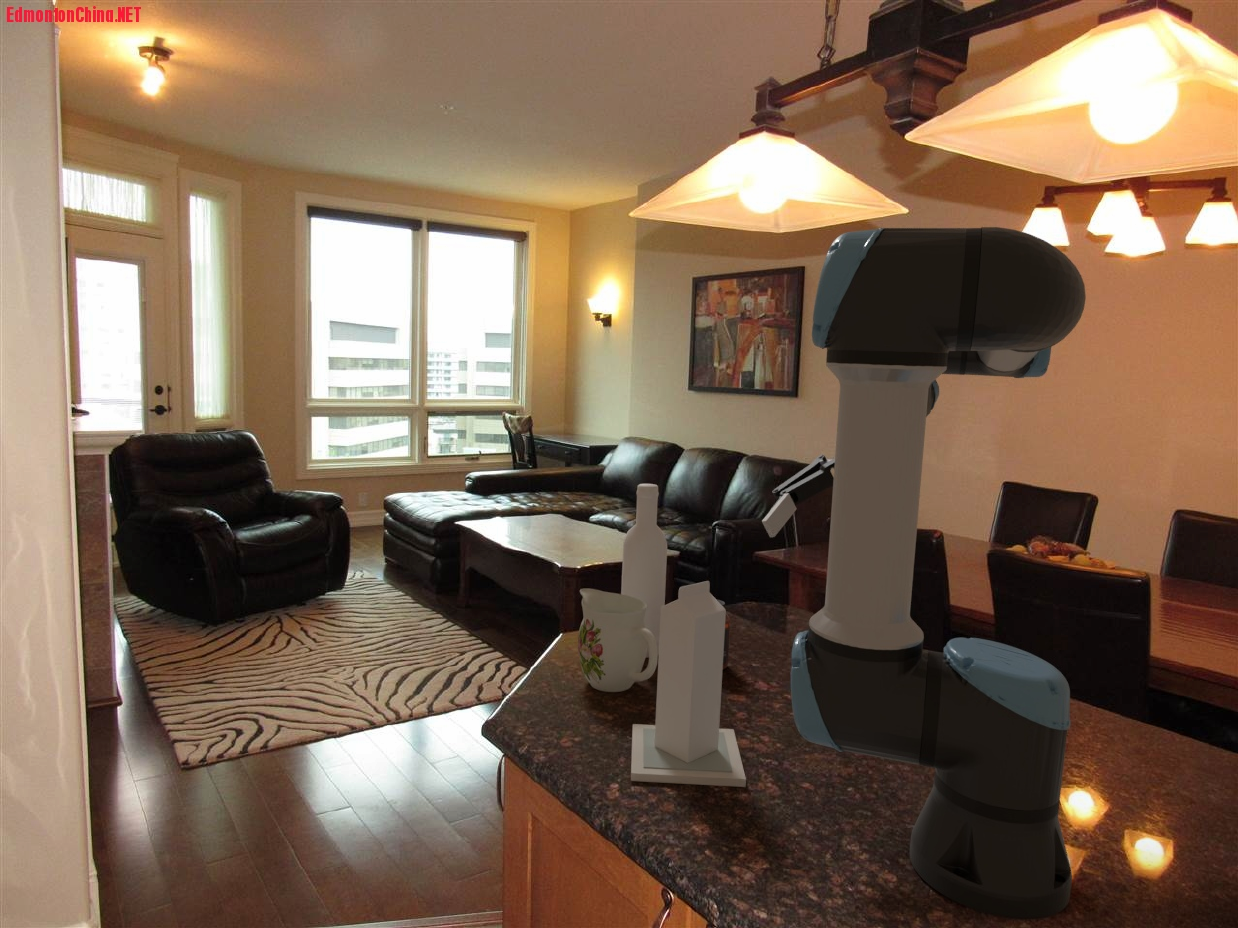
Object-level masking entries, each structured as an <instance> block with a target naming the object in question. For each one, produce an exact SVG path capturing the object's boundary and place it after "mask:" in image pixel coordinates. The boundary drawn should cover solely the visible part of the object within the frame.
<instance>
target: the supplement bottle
mask: <svg viewBox="0 0 1238 928" xmlns="http://www.w3.org/2000/svg"><path fill="white" fill-rule="evenodd" d="M715 599H716V598H715ZM716 600H717V601H718V602H719V603H720V604H721V605H722V606H723V607H724V608H725V609H726V603H725V601H723V600H720V599H716ZM730 629H731V618H730V616H729V615H728V614H727V613H726V617H725V635H724V652H723V670H725V669H726V668H727V667H728V665H729V652H730V650H729V649H730V632H731V631H730Z"/></svg>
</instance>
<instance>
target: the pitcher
mask: <svg viewBox="0 0 1238 928" xmlns="http://www.w3.org/2000/svg"><path fill="white" fill-rule="evenodd" d="M579 593H580V595H581V596H582V599H581V607H582V614H583V619H582V621H581V623H580V627H579V630H578V638H577V651H578V658H579V663H580V667H581V670H582V673H583V675H584V677H585V679H586V680H587V682H589V685H590V686H591V687H592V688H593V689H596V690H598V691H600V692H606V693H618V692H620V693H621V692H625V691H627V690H629V689H630V688H631V687H632V686H633V685H634V683H636V682H644V681H647V680H648V679H650V678H651V677H652V676H653V675H654V674H655V671H656V669H657V667H658V659H659V655H658V647H657V642H656V639H655V637H654V635H653V634H652V632H651V631H649V630H648V629H646V628H645V624H644V616H645V612H646V608H647V604H646V603H645V602H644V601H642V600H640V599H637V598H634V597H631V596H627V595H623V594H621V593H616V592H608V591H603V590H600V589H596V588H588V587H587V588H580V590H579ZM647 644H648V647H649V658H648V663H647V666H646V668H644V670H643V667H644V663H645V660H646V658H645V657H646V652H647ZM642 670H643V671H642Z"/></svg>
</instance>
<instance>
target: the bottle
mask: <svg viewBox="0 0 1238 928" xmlns="http://www.w3.org/2000/svg"><path fill="white" fill-rule="evenodd" d="M635 494H636V515H635V516H636V517H635V524H634V525H633V526H632V527H631V528H629V529H628V531H627V532H626V535H625V537H624V539H623V545H622V546H623V547H622V566H621V567H622V568H621V588H620V589H621V591H620V594H623V595H627V596H631V597H634V598H637V599H640V600H642V601H644V602H645V603H646V604H647V608H646V612H645V616H644V624H645V628H646V629H648V630H649V631H651V632H652V634H653V635H654V637H655V639H656V642H657V647H658V656H659V637H660V616H661V607H662V606H664V605H666V602H665V600H666V582H667V581H666V580H667V559H668V542H667V538H666V535H665V532H664V531H663V530H662V529H661V528H660V527H659V526H658V524H657V523H658V522H657V521H658V504H659V503H658V500H659V499H658V497H659V495H660V492H659V485H657V484H655V483H654V484H653V483H639V484H638V485H637V490H636V493H635ZM646 658H648V659H649V647H648V644H647V652H646V657H645V659H646Z"/></svg>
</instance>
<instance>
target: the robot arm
mask: <svg viewBox="0 0 1238 928" xmlns="http://www.w3.org/2000/svg"><path fill="white" fill-rule="evenodd" d="M822 264H823V265H822V268H821V272H820V276H819V280H818V283H817V290H816V294H815V300H814V306H813V312H812V329H811V338H812V339H811V341H812V344H813V345H814V346H815V347H818V348H820V349H822V350H824V349H826V360H825V361H826V362H825V366H826V368H827V369H829V371H830V372H831V374H833V375H834V376H835V377H836V379H837V380H838V383H839V395H838V407H837V408H838V412H837V424H836V425H837V426H836V436H835V437H836V440H835V453H834V454H835V456H833V458H830V459H829V458H826V455H825V454H821V455H819V456H817V457H816V458H814V460H813V461H812V462H811V463H810V464H809V465H807V466H806V467H804V468H803V469H801V470H800V471H798V472H797V473H795V475H793V476H791V477H790V478H788V479H787V480H785V481H784V482H783V483H781V484H780V485H778V486H777V487H775V488H773V490H772V495H773V496H774V498H775V500H776V502H775V503H774V504H773V506H772V507H771V508H770V509H769V511H768V513H766V515H765V516H764V518H763V519H762V520H761V522H762V525H763V526H764V529H765V530H766V533H767V535H768V536H769V538H775V537H776V536H777V534H778V533H779V532H780V531H781V530H782V528H783V527H784V526H785V525H786V523H787V522H788V521H789V519H791V517H792V515H794V513H795V512H796V510H798V509H797V507H796V506H798V505H800V504H801V503H803V502H804V501H807V500H808V499H810V498H812V497H814V496H815V495H818V494H819V493H821V492H823V491H824V490H826V489H828V488H830V487H832V495H831V496H832V498H831V510H830V511H831V512H830V524H829V525H830V526H829V527H830V529H829V539H828V541H829V542H828V555H827V569H826V585H825V598H824V606H823V607H822V608H821V609H820V610H818V611H817V612H816V613H815V614H813V615H812V616H811V617H810V618H809V621H808V630H804V631H799V632H798V633H797V634H796V635H795V638H794V640H793V643H792V649H791V668H790V695H791V696H790V698H791V699H790V700H791V707H792V713H793V720H794V723H795V726H796V728H797V730H798V732H799V734H800V735H801V736H802V737H803V738H804V739H805V740H806V741H807V742H810V743H813V744H815V745H816V744H817V745H820V746H823V747H824V746H825V747H828V748H832V749H834V750H836V751H837V752H840V753H843V752H849V753H853V754H859V755H865V756H870V757H876V758H880V759H886V760H891V761H896V762H902V763H908V764H914V765H919V766H923V767H929V768H931V769H932V768H933V769H934V777H933V785H932V788H931V791H930V792H929V794H928V796H927V799H926V800H925V802H924V804H923V807H922V809H921V810H920V813H919V815H918V817H917V819H916V821H915V823H914V826H913V828H912V831H911V835H910V845H909V860H910V863H911V864H912V865H911V866H912V867H913V869H914V870H915V871H916V873H917V874H918V875H919V876H920V878H922V880H923V881H924V882H925V883H926V884H928V885H929V886H930V887H931V888H933V889H934V890H935V891H937V892H939V894H941V895H943V896H944V897H947V898H948V899H950V900H952V901H954V902H956V903H958V904H960V905H962V906H964V907H967V908H968V909H972V910H975V911H978V912H980V913H984V914H988V915H992V916H995V917H1002V918H1005V919H1007V918H1008V919H1014V920H1015V919H1016V920H1037V919H1045V918H1048V917H1052V916H1055V915H1057V914H1059V913H1060V912H1062V911H1064V910H1065V908H1066V907H1067V906H1068V905H1069V902H1070V899H1071V892H1072V891H1071V890H1072V883H1073V875H1072V874H1073V873H1072V869H1071V863H1070V861H1069V857H1068V853H1067V848H1066V844H1065V840H1064V836H1063V832H1062V828H1061V824H1060V820H1059V819H1060V818H1059V812H1060V811H1059V809H1060V801H1061V793H1062V792H1061V791H1062V783H1063V782H1062V781H1063V774H1064V773H1063V772H1064V764H1065V755H1066V745H1067V736H1068V730H1069V728H1070V727H1071V725H1072V724H1071V723H1072V721H1071V717H1070V705H1071V704H1070V703H1071V702H1070V701H1071V700H1070V699H1071V690H1070V685H1069V683H1068V681H1067V678H1066V677H1065V676H1064V675H1063V674H1062V673H1063V672H1061V671H1060V670H1059V669H1057V668H1056V667H1055V666H1054V665H1052V664H1051V663H1049V662H1048V661H1046V660H1044V659H1043V658H1041V657H1039V656H1037V655H1035V654H1033V653H1030V652H1028V651H1025V650H1023V649H1020V648H1017V647H1015V646H1012V645H1010V644H1009V645H1008V644H1005V643H1002V642H998V641H993V640H988V639H984V638H977V637H970V638H969V637H968V638H967V637H955V638H951V639H949V641H947V643H946V645H945V646H944V647H943V652H941V651H934V650H928V649H924V648H923V645H924V638H925V637H924V635H925V634H924V631H923V630H922V629H921V627H920V626H919V625H917V623H916V622H915V621H914V620H913V619H912V617H911V605H912V603H911V602H912V591H913V581H914V569H915V568H914V566H915V557H916V555H915V554H916V547H917V546H916V543H917V532H918V519H919V510H920V509H919V508H920V507H919V506H920V497H921V495H920V494H921V484H922V483H921V482H922V472H923V470H922V469H923V458H924V446H925V436H926V435H925V434H926V422H927V417H928V416H929V415H930V414H931V412H932V411H933V409H934V408H935V404H936V402H937V401H938V400H939V399H938V398H939V396H940V385H939V384H938V382H937V378H939V377H940V376H941V375H957V376H958V375H959V376H965V375H968V376H989V377H1002V378H1003V377H1005V378H1006V377H1009V378H1015V379H1024V378H1040V377H1042V376H1044V375H1045V374H1046V373H1047V371H1048V367H1049V365H1050V361H1051V353H1052V347H1054V346H1055V345H1057V344H1058V343H1060V342H1062V341H1063V340H1064V339H1065V338H1066V337H1068V335H1070V333H1072V331H1073V330H1074V329H1075V328H1076V326H1077V325H1078V323H1079V322H1080V320H1081V319H1082V318H1081V317H1082V316H1083V313H1084V311H1085V305H1086V300H1087V299H1086V286H1085V282H1084V279H1083V277H1082V274H1081V273H1080V271H1079V269H1078V268H1077V266H1076V264H1074V263H1073V262H1072V260H1071V259H1070V258H1069V257H1068V256H1067V255H1066V254H1065V253H1063V251H1062V250H1060V249H1059V248H1057V247H1056V246H1054V245H1053V244H1051V243H1049V242H1048V241H1046V240H1044V239H1042V238H1039V237H1037V236H1035V235H1032V234H1030V233H1027V232H1024V231H1019V230H1016V229H1012V228H1005V227H999V226H981V227H901V228H900V227H879V228H873V229H866V230H864V229H863V230H856V231H849V232H848V231H847V232H844V233H842V234H840V235H839V236H838V237H836V238H835V239H834V240H833V242H832V243H831V245H830V246H829V248H828V251H827V253H826V256H825V258H824V262H823V263H822ZM831 470H834V471H833V474H832V471H831Z"/></svg>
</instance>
